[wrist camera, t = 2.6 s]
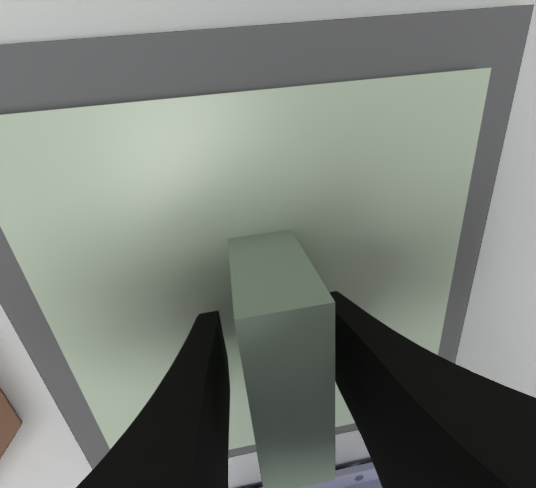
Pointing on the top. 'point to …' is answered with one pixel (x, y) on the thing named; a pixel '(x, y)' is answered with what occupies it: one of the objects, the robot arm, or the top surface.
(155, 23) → the top surface
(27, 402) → the top surface
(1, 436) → the bowl
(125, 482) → the robot arm
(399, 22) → the mat
